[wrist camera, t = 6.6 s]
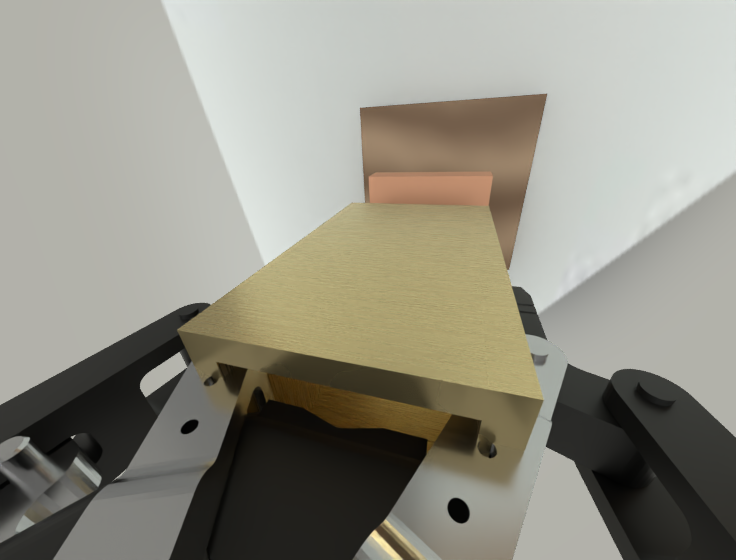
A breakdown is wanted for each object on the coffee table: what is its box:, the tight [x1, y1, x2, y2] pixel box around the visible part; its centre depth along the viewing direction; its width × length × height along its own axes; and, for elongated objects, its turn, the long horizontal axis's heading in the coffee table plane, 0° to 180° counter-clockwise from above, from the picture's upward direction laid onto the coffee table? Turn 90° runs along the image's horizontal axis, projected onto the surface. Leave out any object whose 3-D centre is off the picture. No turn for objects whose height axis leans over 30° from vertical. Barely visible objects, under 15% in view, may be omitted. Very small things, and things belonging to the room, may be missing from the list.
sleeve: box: [177, 203, 544, 458], centre depth 9 cm, size 6×6×9 cm
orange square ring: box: [369, 171, 493, 206], centre depth 17 cm, size 6×6×2 cm
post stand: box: [360, 94, 547, 270], centre depth 20 cm, size 14×14×14 cm
